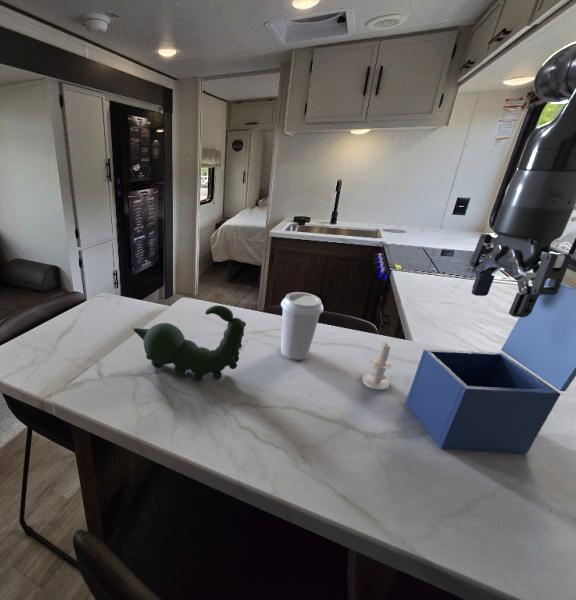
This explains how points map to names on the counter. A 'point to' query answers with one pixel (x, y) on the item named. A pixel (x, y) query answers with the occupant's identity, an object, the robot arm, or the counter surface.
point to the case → (479, 401)
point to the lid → (547, 338)
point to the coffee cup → (299, 323)
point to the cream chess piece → (378, 370)
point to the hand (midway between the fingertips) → (496, 304)
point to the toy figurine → (194, 347)
